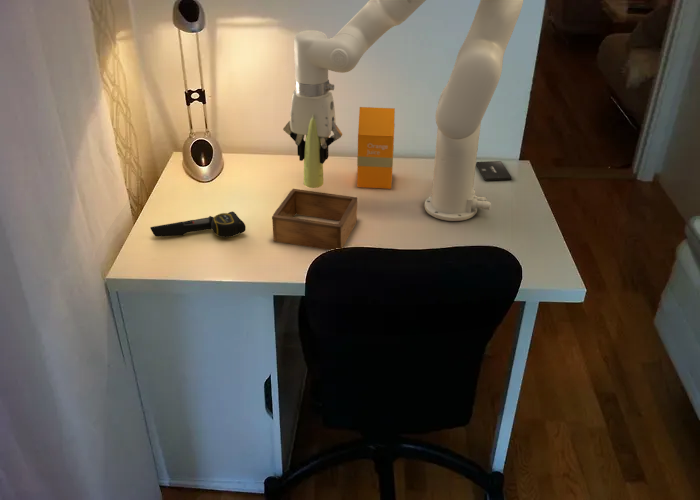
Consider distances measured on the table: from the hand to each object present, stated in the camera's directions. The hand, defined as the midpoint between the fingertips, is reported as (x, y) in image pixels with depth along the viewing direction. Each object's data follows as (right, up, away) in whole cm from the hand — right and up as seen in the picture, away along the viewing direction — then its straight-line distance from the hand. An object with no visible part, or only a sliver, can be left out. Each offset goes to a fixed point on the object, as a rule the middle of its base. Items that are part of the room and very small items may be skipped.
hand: (313, 159), depth 169 cm
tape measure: (-18, -18, -11) cm, 28 cm away
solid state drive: (+47, -1, +16) cm, 50 cm away
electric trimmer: (-28, -18, -11) cm, 35 cm away
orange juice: (+15, -4, +11) cm, 20 cm away
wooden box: (+1, -18, -10) cm, 20 cm away
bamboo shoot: (0, -6, +4) cm, 7 cm away
